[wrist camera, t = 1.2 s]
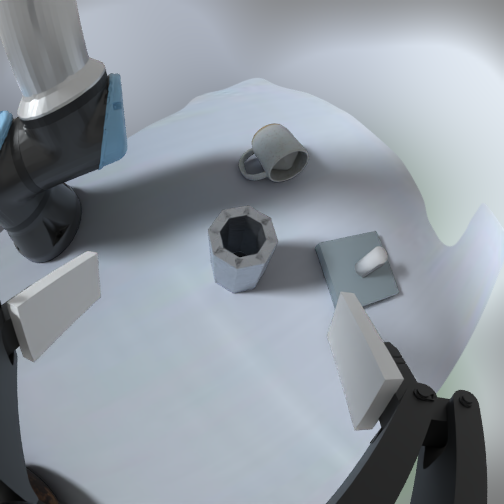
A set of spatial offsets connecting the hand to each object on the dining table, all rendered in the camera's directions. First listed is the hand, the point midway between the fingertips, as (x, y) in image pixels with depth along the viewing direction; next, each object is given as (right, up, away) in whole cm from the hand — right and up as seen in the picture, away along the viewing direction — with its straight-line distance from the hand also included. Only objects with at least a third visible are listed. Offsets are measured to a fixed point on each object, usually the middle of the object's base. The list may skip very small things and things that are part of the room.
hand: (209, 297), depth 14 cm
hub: (0, 0, +27) cm, 27 cm away
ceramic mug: (+5, +17, +35) cm, 39 cm away
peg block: (+19, -1, +28) cm, 34 cm away
